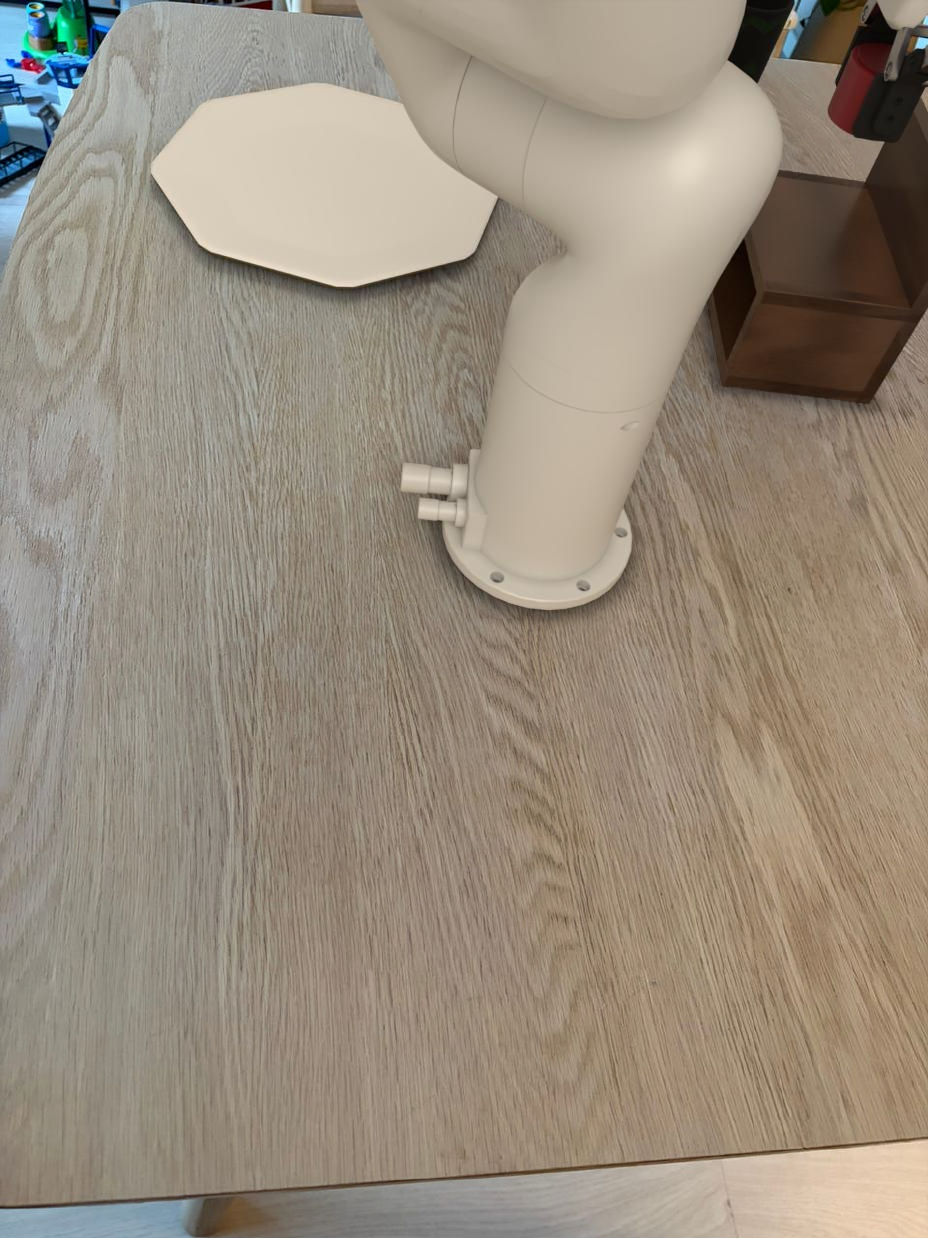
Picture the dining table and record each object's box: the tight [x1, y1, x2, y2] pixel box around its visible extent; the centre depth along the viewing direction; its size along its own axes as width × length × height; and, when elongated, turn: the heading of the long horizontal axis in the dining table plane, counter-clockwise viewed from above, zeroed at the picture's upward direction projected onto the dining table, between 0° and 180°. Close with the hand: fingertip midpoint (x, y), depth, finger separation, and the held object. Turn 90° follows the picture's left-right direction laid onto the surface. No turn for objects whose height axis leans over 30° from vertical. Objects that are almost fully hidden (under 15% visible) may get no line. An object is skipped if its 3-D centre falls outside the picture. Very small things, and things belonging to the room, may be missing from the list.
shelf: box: [706, 97, 928, 405], centre depth 78 cm, size 12×16×16 cm
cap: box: [827, 43, 912, 142], centre depth 68 cm, size 5×5×4 cm
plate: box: [150, 82, 499, 290], centre depth 87 cm, size 28×28×2 cm
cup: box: [727, 0, 796, 85], centre depth 98 cm, size 8×8×12 cm
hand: (865, 110), depth 69 cm, fingers closed on cap, 5 cm apart
